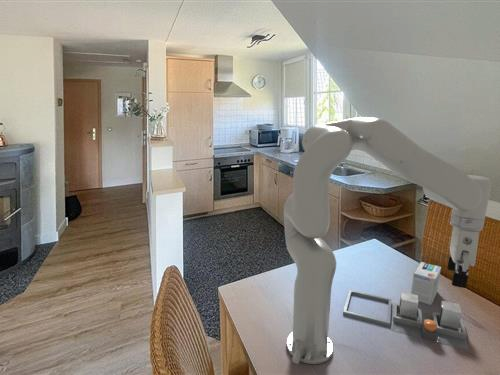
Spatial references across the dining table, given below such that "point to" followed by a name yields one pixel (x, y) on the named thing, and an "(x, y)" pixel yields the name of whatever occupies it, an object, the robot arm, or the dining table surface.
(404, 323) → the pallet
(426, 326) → the button
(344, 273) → the dining table surface
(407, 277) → the dining table surface
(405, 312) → the block
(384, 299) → the tray
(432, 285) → the light bulb box
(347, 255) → the dining table surface
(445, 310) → the block
